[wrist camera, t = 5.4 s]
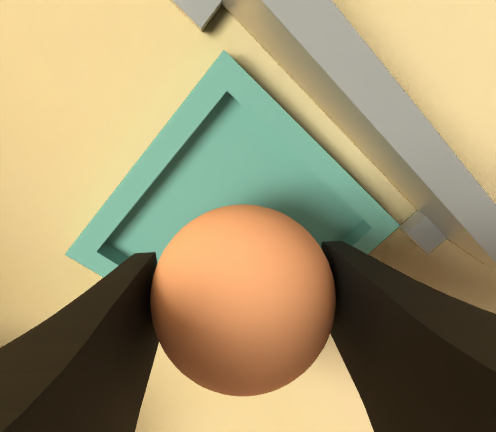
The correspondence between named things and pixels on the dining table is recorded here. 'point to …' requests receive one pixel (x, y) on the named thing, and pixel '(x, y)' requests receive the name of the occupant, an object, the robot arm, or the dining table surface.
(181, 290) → the ball
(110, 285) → the robot arm
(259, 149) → the coaster
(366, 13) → the dining table surface
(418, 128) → the wall
